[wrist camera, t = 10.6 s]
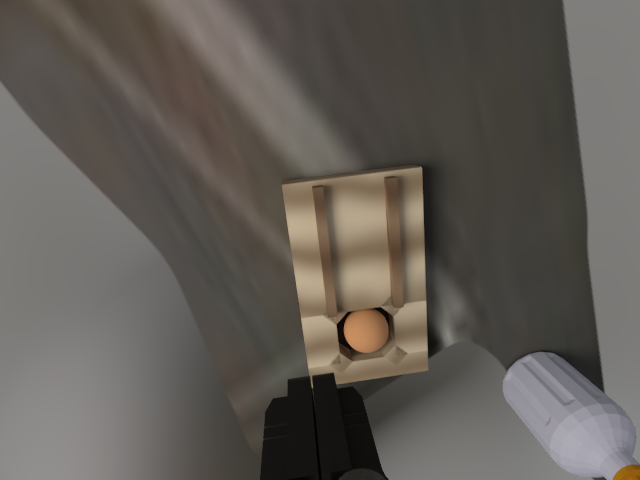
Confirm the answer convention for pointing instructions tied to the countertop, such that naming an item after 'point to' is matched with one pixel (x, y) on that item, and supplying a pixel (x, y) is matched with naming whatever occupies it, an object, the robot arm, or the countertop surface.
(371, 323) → the ball
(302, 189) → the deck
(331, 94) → the countertop surface
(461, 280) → the countertop surface
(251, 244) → the countertop surface
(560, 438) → the soap bottle
